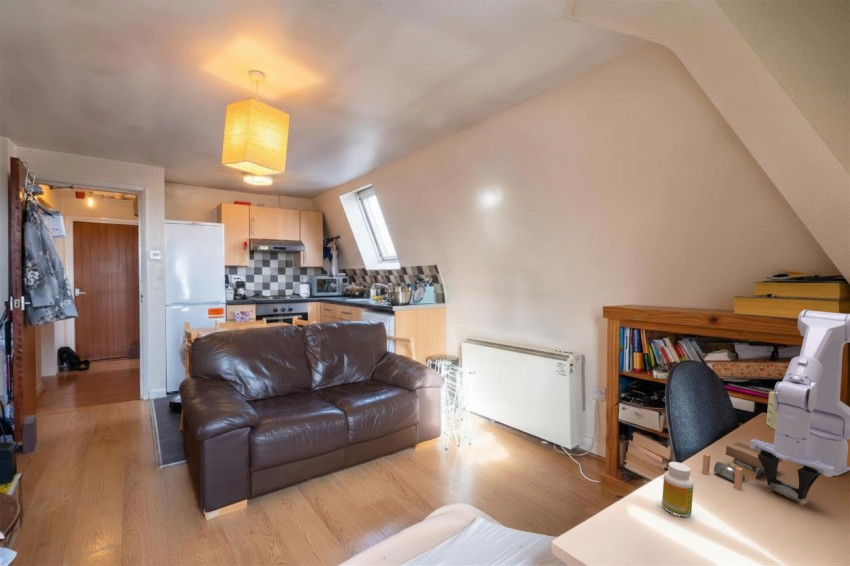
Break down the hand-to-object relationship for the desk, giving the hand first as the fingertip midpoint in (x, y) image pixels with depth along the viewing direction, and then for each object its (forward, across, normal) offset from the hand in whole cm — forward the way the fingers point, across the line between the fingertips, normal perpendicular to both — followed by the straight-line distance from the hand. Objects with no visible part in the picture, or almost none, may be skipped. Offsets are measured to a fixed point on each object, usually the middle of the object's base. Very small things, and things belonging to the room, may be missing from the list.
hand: (786, 491), depth 92 cm
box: (+2, -20, +48) cm, 52 cm away
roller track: (+1, -5, +4) cm, 6 cm away
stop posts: (+1, -10, -7) cm, 12 cm away
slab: (-2, -10, +8) cm, 13 cm away
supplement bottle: (+2, -7, -30) cm, 30 cm away
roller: (+1, 0, 0) cm, 1 cm away
